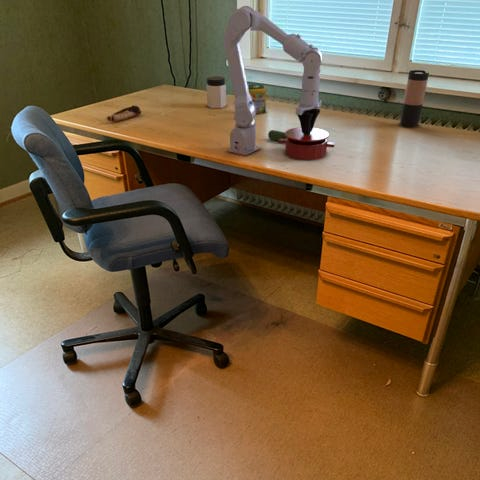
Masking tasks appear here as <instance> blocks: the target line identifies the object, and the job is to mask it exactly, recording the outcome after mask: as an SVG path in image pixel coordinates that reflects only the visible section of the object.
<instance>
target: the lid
mask: <svg viewBox="0 0 480 480" xmlns="http://www.w3.org/2000/svg"><path fill="white" fill-rule="evenodd" d="M285 136H286V137H287V138H289V139H292V140H295V141H301V142H316V141H322V140H325V139H327V140H328V138H329V137H330V133H329V132H328V131H326V130H325V129H322V128H317V127H313V130H312V131H311V122H310V127H309V132H308V134H305V133H302V130H301V126H300V127H294V128H290V129H287V130H285Z"/></svg>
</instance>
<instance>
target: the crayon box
mask: <svg viewBox="0 0 480 480" xmlns="http://www.w3.org/2000/svg"><path fill="white" fill-rule="evenodd" d="M248 91H249V94H250V96H251V98H252V102H253V104H254V105H255V107H256V114H265V113H266V109H267V108H266V106H267V89H266V88H265V83H251V84H250V83H249V84H248Z"/></svg>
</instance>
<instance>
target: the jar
mask: <svg viewBox="0 0 480 480" xmlns="http://www.w3.org/2000/svg"><path fill="white" fill-rule="evenodd" d="M205 87H206V105H207V107H209V108H210V109H222V108H225V107H227V85H226V78H225V77H224V76H219V75H218V76H217V75H216V76H215V75H214V76H208V77H207V78H206V86H205Z"/></svg>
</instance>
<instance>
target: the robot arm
mask: <svg viewBox="0 0 480 480" xmlns="http://www.w3.org/2000/svg"><path fill="white" fill-rule="evenodd" d="M249 30H250V31H253V32H254V31H255V32H256V31H257V32H258V31H261V32H263V33H264V34H266V35H267V36H269V37H270V38H272V39H273V40H275V41H276V42H277V43H279V44H281V45H282V50H283V52H284V53H286V54H287V55H288V56H290V57H291V58H293V59H294V60H295V61H298V63H302V66H303V72H302V78H301V79H302V80H301V93H300V103H299V104H298V106H297V107H295V115H297V117H298V120H299V124H300V127H301V130H302V133H305V134H308V132H309V127H310V122H311V131H312V130H313V128H315V123H316V122H317V118H318V115H320V112H321V109H320V108H321V107H322V103H323V102H322V99H319V95H320V94H319V93H320V82H321V65H322V60H323V55H322V52H321V51H320V50H319V48H318V47H314V45H313V44H312V43H308V42H306V41H305V40H304V39H302V38H301V37H302V36H301V35H300V34H299V33H297V34H296V33H293V32H292V33H290V34H287V32H286V31H284V30H283V29H281V27H279V26H277V24H275V23H274V22H272V20H270V19H269V18H268V17H266V15H263V14H262V13H261V12H259V11H257V10H256V9H253V8H252V7H251V6H249V5H242V6H241V7H239V8H237V9H234V11H233V12H232V13H231V15H230V16H229V18H228V19H227V25H226V28H225V32H224V35H223V39H222V40H223V47H224V52H225V57H226V61H227V67H228V71H229V75H230V76H229V77H230V80H231V85H232V89H233V95H234V115H233V117H234V118H233V119H234V121H235V125H234V128H232V130H231V131H230V133H229V149H228V151H227V152H229V153H233V154H238V155H242V156H248V155H250V154H251V153H254V152H256V151H258V150H260V149H261V146H257V145H256V135H257V133H256V132H257V131H256V129H257V127H256V126H257V125H256V121H255V117H256V116H257V113H256V107H255V105H254V104H253V102H252V98H251V96H250V94H249V84H248V81H247V76H246V70H245V66H244V60H243V55H242V50H241V44H240V42H241V40H242V39H243V37H244V36H245V33H246V32H247V31H249Z"/></svg>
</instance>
